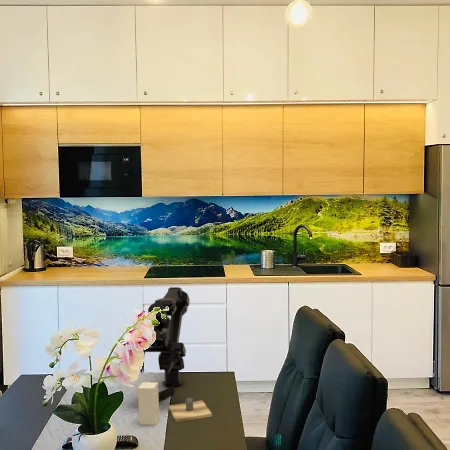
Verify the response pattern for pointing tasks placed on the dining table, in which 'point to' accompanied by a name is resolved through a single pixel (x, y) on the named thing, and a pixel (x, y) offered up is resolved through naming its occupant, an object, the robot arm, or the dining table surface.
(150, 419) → the beige rectangular block
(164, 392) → the electric trimmer
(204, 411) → the post stand
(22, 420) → the dining table surface
